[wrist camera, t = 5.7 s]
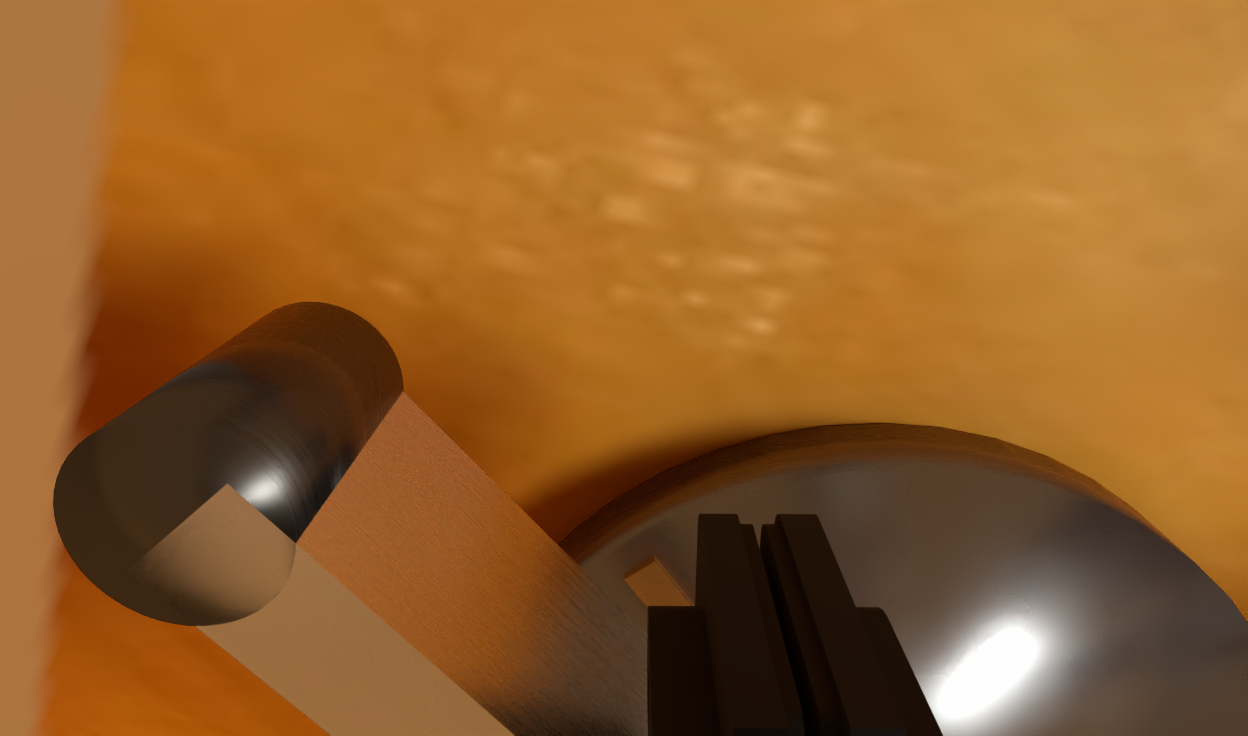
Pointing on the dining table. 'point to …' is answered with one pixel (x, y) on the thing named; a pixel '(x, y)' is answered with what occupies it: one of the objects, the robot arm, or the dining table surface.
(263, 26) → the dining table surface
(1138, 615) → the dial plate
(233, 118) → the dining table surface
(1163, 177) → the dining table surface
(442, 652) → the dial lever
